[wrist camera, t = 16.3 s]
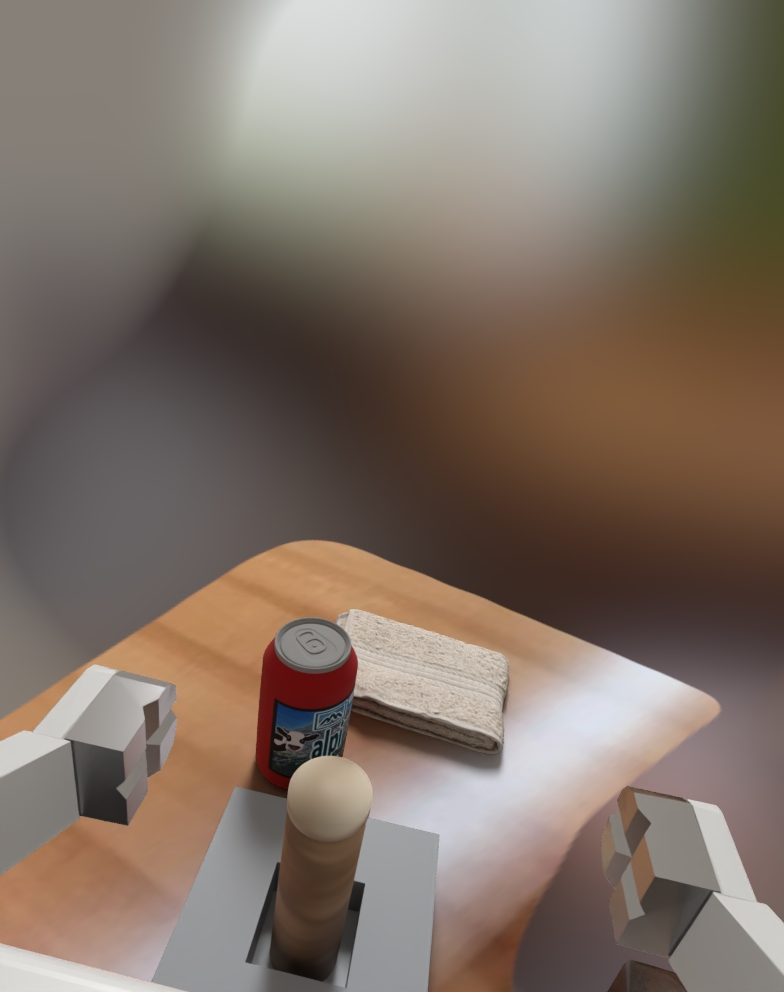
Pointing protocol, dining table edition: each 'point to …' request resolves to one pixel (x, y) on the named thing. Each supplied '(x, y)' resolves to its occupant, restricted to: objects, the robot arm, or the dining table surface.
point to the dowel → (318, 864)
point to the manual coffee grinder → (645, 979)
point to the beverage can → (304, 697)
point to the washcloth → (427, 681)
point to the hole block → (252, 897)
